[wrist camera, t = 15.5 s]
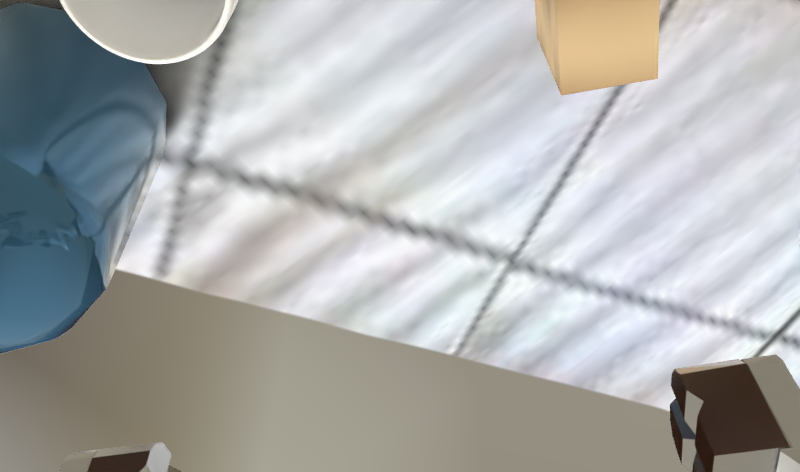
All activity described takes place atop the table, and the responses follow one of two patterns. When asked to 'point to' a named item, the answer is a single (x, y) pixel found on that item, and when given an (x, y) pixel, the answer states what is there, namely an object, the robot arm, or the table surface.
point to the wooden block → (599, 42)
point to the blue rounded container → (67, 168)
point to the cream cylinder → (152, 26)
